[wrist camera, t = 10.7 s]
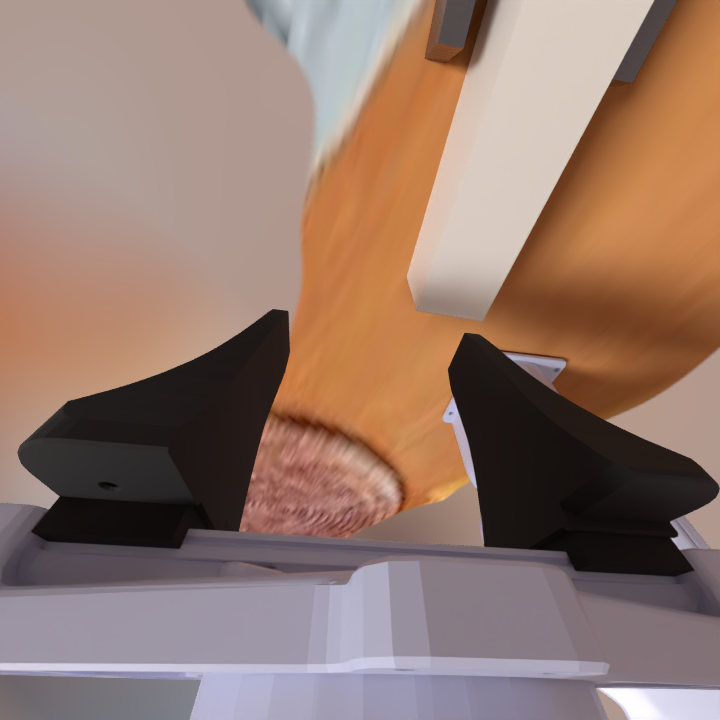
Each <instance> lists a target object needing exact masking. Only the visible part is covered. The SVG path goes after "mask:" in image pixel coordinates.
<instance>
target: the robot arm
mask: <svg viewBox="0 0 720 720" xmlns="http://www.w3.org/2000/svg"><path fill="white" fill-rule="evenodd" d="M289 353H290V343H289V316H288V311H284V310H276V309H272V310H271V311H269V312H268V313H267V314H265V315H264V316H263V317H261V318H260V319H259V320H257V321H256V322H255V323H253V324H252V325H251V326H249V327H248V328H246V329H245V330H244V331H242V332H241V333H239V334H238V335H236V336H234V337H233V338H232V339H230V340H228V341H227V342H225V343H223V344H222V345H220V346H218V347H217V348H215V349H213V350H211V351H210V352H208V353H206V354H204V355H202V356H200V357H198V358H196V359H194V360H192V361H189V362H187V363H185V364H182V365H180V366H177V367H175V368H173V369H171V370H168V371H166V372H164V373H161V374H158V375H155V376H152V377H150V378H147V379H144V380H141V381H138V382H135V383H132V384H129V385H125V386H122V387H119V388H116V389H112V390H109V391H105V392H101V393H97V394H94V395H90V396H86V397H82V398H79V399H75V400H71V401H68V402H67V403H66V404H65V405H63V406H62V407H61V408H60V409H59V410H58V411H57V412H56V413H55V414H54V415H53V416H52V417H51V418H49V419H48V420H47V421H46V422H45V423H44V424H43V425H42V426H41V427H40V428H38V429H37V430H36V431H35V432H34V433H33V434H32V435H31V436H30V437H29V438H28V439H27V440H25V441H24V442H23V443H22V444H21V445H20V447H19V450H18V452H17V453H18V456H19V459H20V462H21V464H22V465H23V466H24V467H25V468H26V469H27V470H28V471H29V472H30V473H31V474H32V475H34V476H35V477H36V478H38V479H39V480H40V481H41V482H42V483H44V484H45V485H46V486H47V487H49V488H50V489H51V490H52V491H54V492H55V493H56V494H57V495H59V496H60V497H59V498H58V500H57V501H56V502H55V503H54V504H53V506H52V507H51V508H50V509H49V510H47V509H46V508H42V507H39V506H33V505H25V504H24V505H23V504H8V503H0V675H36V676H38V675H39V676H74V677H111V678H112V677H113V678H147V679H184V680H185V679H186V680H201V683H200V687H199V690H198V693H197V697H196V700H195V704H194V707H193V710H192V714H191V717H190V720H608V718H607V715H606V713H605V710H604V708H603V705H602V703H601V701H600V698H599V696H598V693H597V691H596V689H595V688H597V689H599V690H600V691H602V692H603V693H604V694H606V695H607V696H608V697H610V698H611V699H612V700H614V701H615V702H616V703H617V704H618V705H620V706H621V708H622V709H623V711H624V713H625V715H626V716H627V718H628V720H720V550H716V549H715V550H714V549H711V548H710V547H709V546H708V544H707V543H706V542H705V541H704V539H703V538H702V537H701V536H700V534H699V533H698V532H697V531H696V530H695V528H694V527H693V526H692V525H691V523H690V522H689V521H688V520H687V519H686V517H685V516H684V515H686V514H688V513H690V512H692V511H694V510H697V509H699V508H701V507H702V506H704V505H706V504H708V503H710V502H711V501H712V500H713V499H715V498H716V496H717V495H718V493H719V489H720V488H719V485H718V484H717V483H716V482H715V480H714V479H713V478H712V477H711V476H710V475H709V474H708V473H707V472H705V470H704V469H703V468H702V467H701V466H700V465H698V464H697V463H696V462H695V461H693V460H692V459H691V458H688V457H686V456H683V455H681V454H678V453H676V452H674V451H671V450H669V449H666V448H664V447H662V446H659V445H657V444H654V443H652V442H649V441H647V440H645V439H642V438H640V437H638V436H636V435H634V434H632V433H630V432H628V431H626V430H623V429H621V428H619V427H617V426H615V425H613V424H611V423H609V422H607V421H605V420H603V419H601V418H599V417H597V416H596V415H594V414H592V413H590V412H588V411H587V410H585V409H583V408H581V407H579V406H578V405H576V404H574V403H572V402H571V401H569V400H567V399H566V398H564V397H563V396H561V395H560V394H559V393H558V391H557V390H556V388H555V387H554V386H553V384H552V382H553V381H554V380H555V378H556V377H557V376H558V375H559V374H560V372H561V371H562V370H563V369H564V367H565V366H566V362H565V360H564V359H560V358H551V357H543V356H534V355H526V354H518V353H509V352H501V351H500V350H499V349H498V348H497V347H495V346H494V345H493V344H492V343H490V342H489V341H488V340H486V339H485V338H484V337H482V336H481V335H479V334H471V333H464V335H463V338H462V340H461V342H460V344H459V346H458V348H457V351H456V353H455V355H454V357H453V359H452V362H451V364H450V366H449V368H448V373H449V380H450V386H451V391H452V394H453V397H452V399H451V401H450V403H449V405H448V407H447V409H446V411H445V413H444V415H443V417H442V418H443V421H444V422H447V423H452V425H453V428H454V431H455V435H456V438H457V442H458V445H459V448H460V452H461V455H462V458H463V462H464V465H465V469H466V472H467V474H468V476H469V478H470V480H471V482H472V483H473V484H474V486H475V487H476V488H477V491H478V498H479V505H480V512H481V516H480V529H481V535H482V540H483V543H484V547H478V546H463V545H446V544H429V543H413V542H397V541H381V540H365V539H349V538H333V537H316V536H300V535H284V534H268V533H251V532H239V528H240V523H241V519H242V514H243V509H244V505H245V500H246V496H247V492H248V488H249V483H250V479H251V475H252V471H253V467H254V463H255V459H256V455H257V451H258V447H259V444H260V440H261V436H262V433H263V429H264V426H265V423H266V420H267V417H268V414H269V412H270V409H271V407H272V404H273V402H274V399H275V396H276V394H277V391H278V389H279V386H280V384H281V381H282V379H283V376H284V373H285V370H286V366H287V362H288V357H289ZM284 573H287V574H284Z"/></svg>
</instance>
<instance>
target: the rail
mask: <svg viewBox="0 0 720 720" xmlns="http://www.w3.org/2000/svg"><path fill="white" fill-rule="evenodd" d="M653 2H654V0H488V2H487V5H486V8H485V12H484V15H483V19H482V22H481V25H480V29H479V32H478V36H477V39H476V43H475V46H474V49H473V53H472V56H471V60H470V63H469V66H468V70H467V73H466V77H465V80H464V83H463V87H462V90H461V94H460V97H459V100H458V104H457V107H456V111H455V114H454V118H453V121H452V124H451V128H450V131H449V135H448V138H447V141H446V145H445V148H444V152H443V155H442V158H441V162H440V165H439V169H438V172H437V175H436V179H435V182H434V186H433V189H432V192H431V196H430V199H429V203H428V206H427V210H426V213H425V216H424V220H423V223H422V227H421V230H420V233H419V237H418V240H417V244H416V247H415V250H414V254H413V257H412V261H411V264H410V267H409V271H408V274H407V279H408V283H409V286H410V290H411V293H412V297H413V300H414V303H415V307H416V310H417V311H420V312H426V313H433V314H439V315H445V316H451V317H457V318H464V319H470V320H476V321H483V320H484V318H485V316H486V314H487V312H488V310H489V308H490V306H491V305H492V303H493V301H494V299H495V297H496V295H497V293H498V292H499V290H500V288H501V286H502V284H503V282H504V280H505V278H506V277H507V275H508V273H509V271H510V269H511V267H512V265H513V263H514V262H515V260H516V258H517V256H518V254H519V252H520V250H521V249H522V247H523V245H524V243H525V241H526V239H527V237H528V235H529V234H530V232H531V230H532V228H533V226H534V224H535V222H536V220H537V219H538V217H539V215H540V213H541V211H542V209H543V207H544V206H545V204H546V202H547V200H548V198H549V196H550V194H551V192H552V191H553V189H554V187H555V185H556V183H557V181H558V179H559V177H560V176H561V174H562V172H563V170H564V168H565V166H566V164H567V163H568V161H569V159H570V157H571V155H572V153H573V151H574V149H575V148H576V146H577V144H578V142H579V140H580V138H581V136H582V134H583V133H584V131H585V129H586V127H587V125H588V123H589V121H590V120H591V118H592V116H593V114H594V112H595V110H596V108H597V106H598V105H599V103H600V101H601V99H602V97H603V95H604V93H605V91H606V90H607V88H608V86H609V84H610V82H611V80H612V78H613V76H614V75H615V73H616V71H617V69H618V67H619V65H620V63H621V62H622V60H623V58H624V56H625V54H626V52H627V50H628V48H629V47H630V45H631V43H632V41H633V39H634V37H635V35H636V33H637V32H638V30H639V28H640V26H641V24H642V22H643V20H644V19H645V17H646V15H647V13H648V11H649V9H650V7H651V5H652V4H653Z"/></svg>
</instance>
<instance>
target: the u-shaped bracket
mask: <svg viewBox="0 0 720 720" xmlns="http://www.w3.org/2000/svg"><path fill="white" fill-rule="evenodd" d="M475 1H476V0H436V3H435V8H434V14H433V19H432V24H431V29H430V34H429V39H428V44H427V49H426V55H425V59H430V60H435V61H440V62H445V63H446V62H447V61H449V60H450V59H451V58H452V57H454V56H455V55H456V54H457V53H458V52H460V51H461V50H462V49H463V48H464V45H465V41H466V37H467V33H468V29H469V25H470V21H471V17H472V13H473V9H474V5H475ZM676 2H677V0H654V2H653V4H652V5H651V7H650V9H649V11H648V13H647V15H646V17H645V19H644V20H643V22H642V24H641V26H640V28H639V30H638V32H637V33H636V35H635V37H634V39H633V41H632V43H631V45H630V47H629V48H628V50H627V52H626V54H625V56H624V58H623V60H622V62H621V63H620V65H619V67H618V69H617V71H616V73H615V75H614V76H613V78H612V80H611V82H610V84H609V86H608V87H612V86H618V85H624V84H630V83H633V81H634V79H635V77H636V75H637V73H638V72H639V70H640V68H641V66H642V64H643V62H644V61H645V59H646V57H647V55H648V53H649V51H650V50H651V48H652V46H653V44H654V42H655V40H656V39H657V37H658V35H659V33H660V31H661V29H662V28H663V26H664V24H665V22H666V20H667V18H668V17H669V15H670V13H671V11H672V9H673V7H674V6H675V4H676Z"/></svg>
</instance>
